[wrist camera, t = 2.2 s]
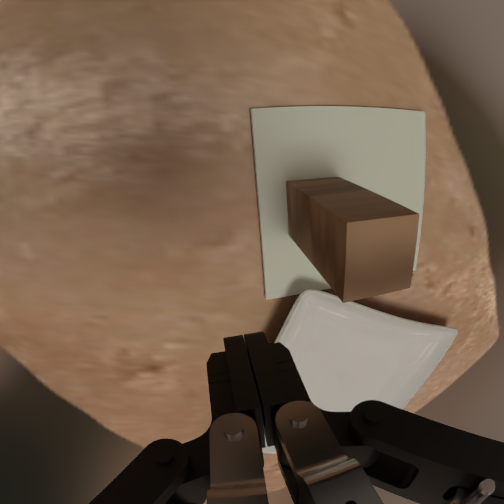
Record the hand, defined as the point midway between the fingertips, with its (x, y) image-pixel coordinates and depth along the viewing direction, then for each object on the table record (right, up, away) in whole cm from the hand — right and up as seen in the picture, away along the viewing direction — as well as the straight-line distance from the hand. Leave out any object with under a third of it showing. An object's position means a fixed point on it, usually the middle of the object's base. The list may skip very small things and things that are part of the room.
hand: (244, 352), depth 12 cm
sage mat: (+10, +9, +18) cm, 22 cm away
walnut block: (+6, +8, +17) cm, 20 cm away
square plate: (+12, -14, +29) cm, 34 cm away
